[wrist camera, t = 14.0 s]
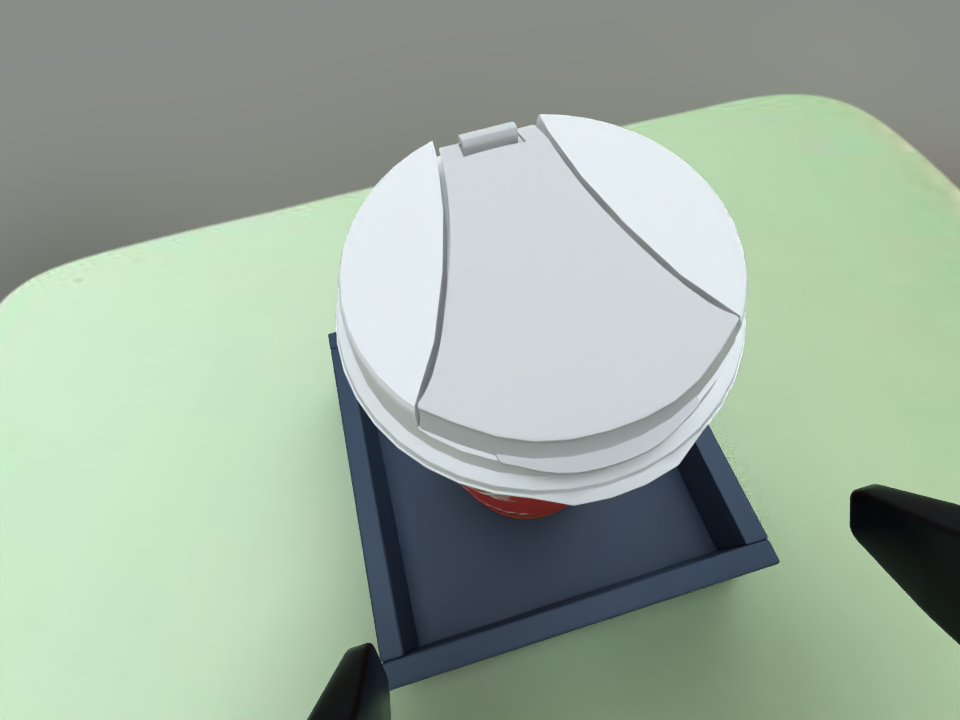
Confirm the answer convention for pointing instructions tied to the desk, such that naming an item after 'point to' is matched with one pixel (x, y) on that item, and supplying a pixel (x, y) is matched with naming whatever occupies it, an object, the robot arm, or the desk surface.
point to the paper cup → (543, 311)
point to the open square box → (529, 551)
